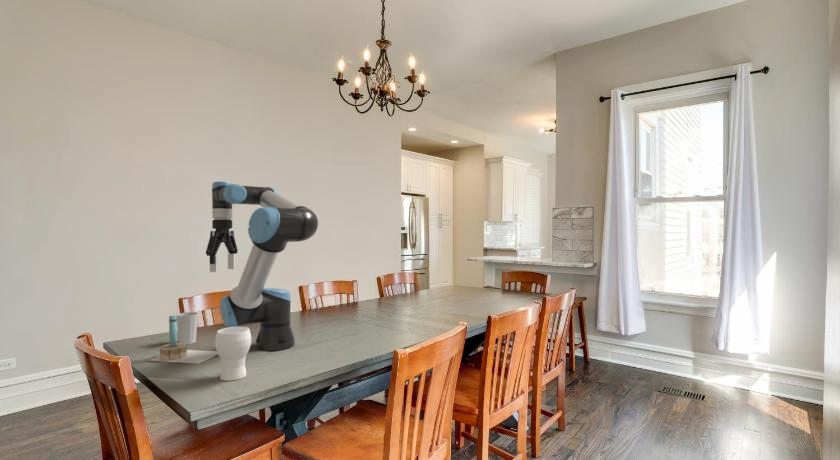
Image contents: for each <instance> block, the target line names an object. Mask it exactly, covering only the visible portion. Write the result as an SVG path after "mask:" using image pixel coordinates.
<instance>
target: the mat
mask: <svg viewBox="0 0 840 460" xmlns="http://www.w3.org/2000/svg"><path fill="white" fill-rule="evenodd" d="M215 356H219V355H218V353H217V350H216V351H215V350H199V349H198V350H196V349H187V356H186V357H184V358H181V359H177V360H171V361H170V360H169V361H165V360H160V355H158V356H156V357H153V358H151V359H148V362H150V361H151V362H167V363H185V364H201V363H203V362H205V361H207V360H209V359H212V358H213V357H215Z"/></svg>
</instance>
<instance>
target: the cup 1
mask: <svg viewBox="0 0 840 460" xmlns="http://www.w3.org/2000/svg"><path fill="white" fill-rule="evenodd" d="M176 316H177V341H178V343H185V344H186V345H189V344H190V345H191V344H194V343H196V342H197V333H198V332H197V331H198V330H197V329H198V319H199V312H196V311H195V312H194V311H190V312H188V311H187V312H182V313H181V312H180V313H177V314H176Z"/></svg>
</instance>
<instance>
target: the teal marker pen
mask: <svg viewBox="0 0 840 460" xmlns="http://www.w3.org/2000/svg"><path fill="white" fill-rule="evenodd" d="M176 315H177V314H176ZM176 315H175V314H174V315H170V316H168V322H169V323H168V329H169V330H168V332H169V335H168V336H169V338H168V339H169V340H168V341H169V343H168V344H169V347H171V348H172V347H177V343H178V328H177V316H176Z"/></svg>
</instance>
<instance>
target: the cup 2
mask: <svg viewBox="0 0 840 460" xmlns="http://www.w3.org/2000/svg"><path fill="white" fill-rule="evenodd" d="M251 334H252V333H251V330H250V328H249V327H248V326H238V327H225V328H220V329H218V330H217V331H216V335H215V339H214V340H215V341H214V342H215V343H214V347H215V350H216V351H217V353H218V355H217V356H218V357H219V358H220V361H221V371H220V378H219V379H220V380H222V381H225V382H227V381H230V382H231V381H237V380H240V379H243V378H245V377H247V368H246V358H247V355H248V352H249V350H250V348H251V346H252V335H251Z"/></svg>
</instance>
